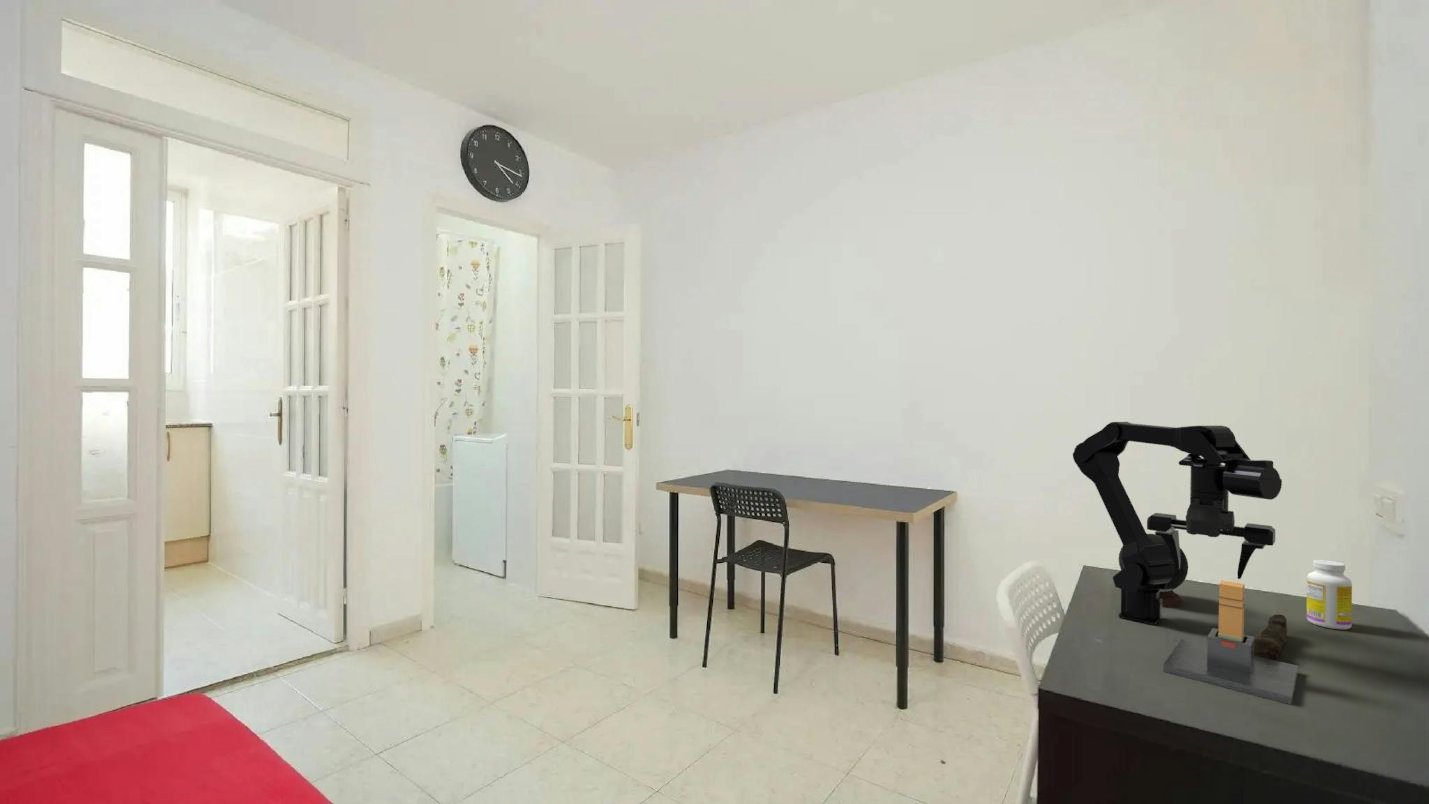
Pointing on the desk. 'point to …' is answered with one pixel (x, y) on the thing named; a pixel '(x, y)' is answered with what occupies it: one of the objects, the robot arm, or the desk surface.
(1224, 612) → the column
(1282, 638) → the rusty railroad spike
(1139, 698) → the desk surface
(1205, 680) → the jack stand base
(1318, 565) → the supplement bottle
